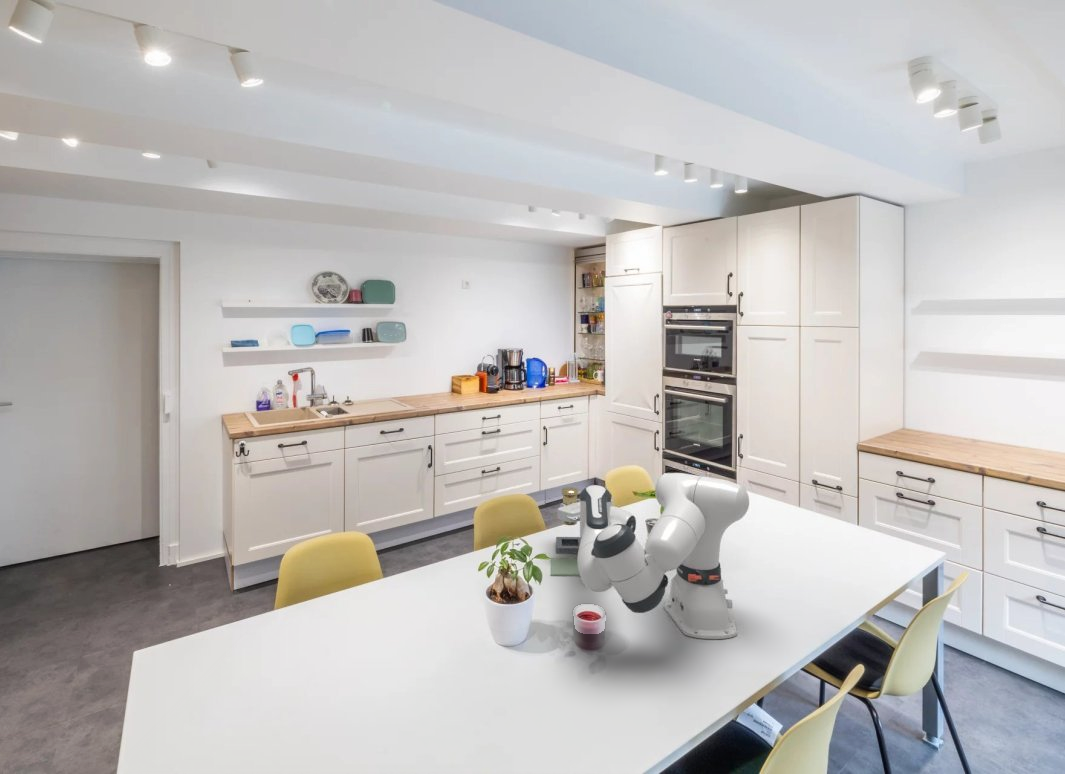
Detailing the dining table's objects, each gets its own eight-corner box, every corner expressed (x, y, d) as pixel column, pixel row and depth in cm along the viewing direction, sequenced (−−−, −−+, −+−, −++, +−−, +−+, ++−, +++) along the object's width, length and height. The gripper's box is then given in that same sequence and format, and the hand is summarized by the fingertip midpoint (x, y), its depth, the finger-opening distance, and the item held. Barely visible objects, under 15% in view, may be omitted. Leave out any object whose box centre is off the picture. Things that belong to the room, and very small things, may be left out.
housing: (584, 555, 192) (584, 548, 192) (556, 554, 193) (556, 548, 192) (583, 543, 202) (583, 537, 202) (556, 543, 203) (556, 536, 202)
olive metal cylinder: (578, 525, 193) (578, 492, 192) (561, 525, 193) (561, 492, 192) (577, 519, 199) (577, 487, 197) (561, 519, 199) (561, 487, 198)
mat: (581, 576, 176) (581, 574, 176) (550, 576, 177) (550, 574, 177) (579, 559, 188) (579, 558, 188) (550, 559, 189) (550, 558, 189)
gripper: (573, 530, 179) (546, 518, 190) (616, 515, 192) (588, 505, 203) (573, 511, 178) (546, 501, 189) (616, 498, 191) (588, 489, 202)
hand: (568, 503), depth 196 cm, fingers closed on olive metal cylinder, 5 cm apart
